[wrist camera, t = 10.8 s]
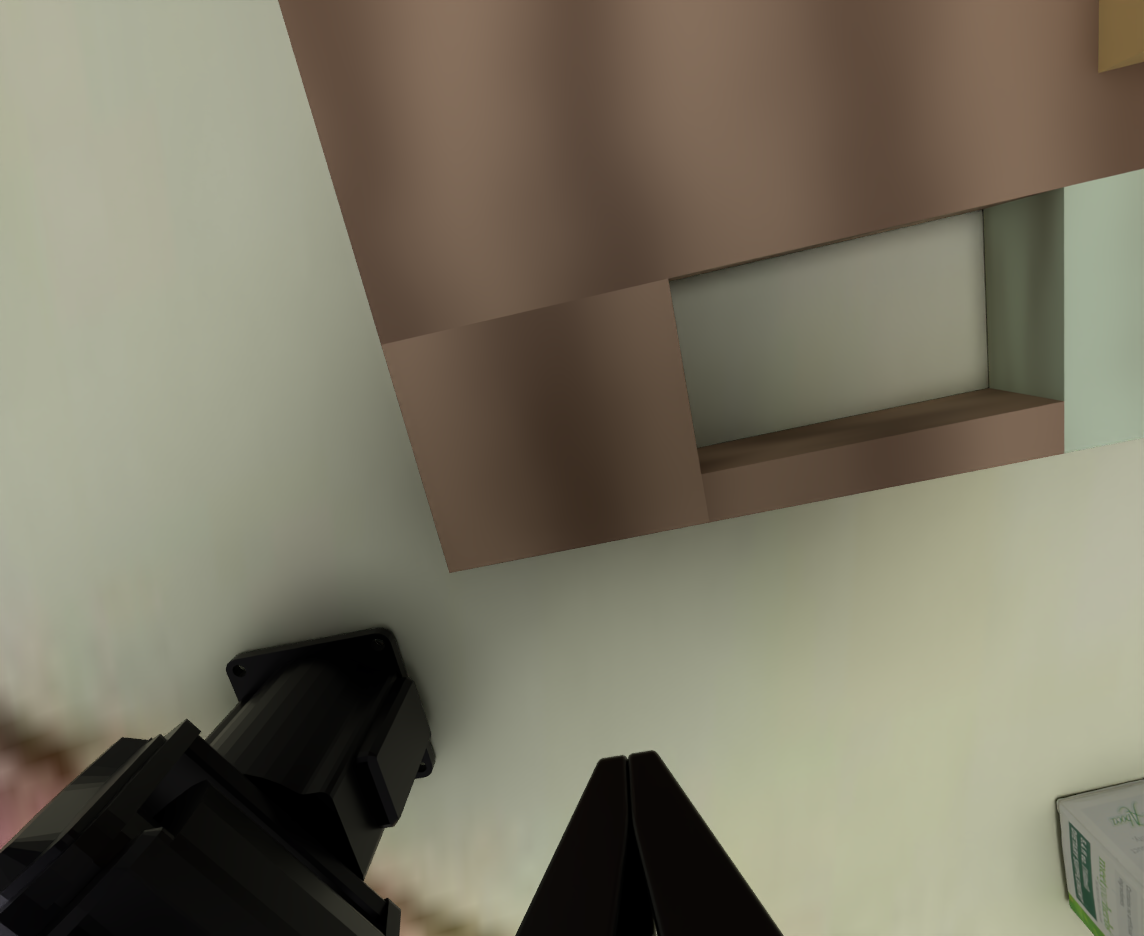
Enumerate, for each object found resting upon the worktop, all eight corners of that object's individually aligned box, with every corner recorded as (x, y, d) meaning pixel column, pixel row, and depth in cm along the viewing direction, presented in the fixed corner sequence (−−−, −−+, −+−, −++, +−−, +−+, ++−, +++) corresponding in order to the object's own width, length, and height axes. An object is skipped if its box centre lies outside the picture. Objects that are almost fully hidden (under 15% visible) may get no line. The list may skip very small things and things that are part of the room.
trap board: (469, 535, 20) (449, 572, 17) (222, -332, 14) (129, -497, 11) (1249, 380, 18) (1375, 392, 15) (1338, -714, 12) (1572, -1035, 9)
